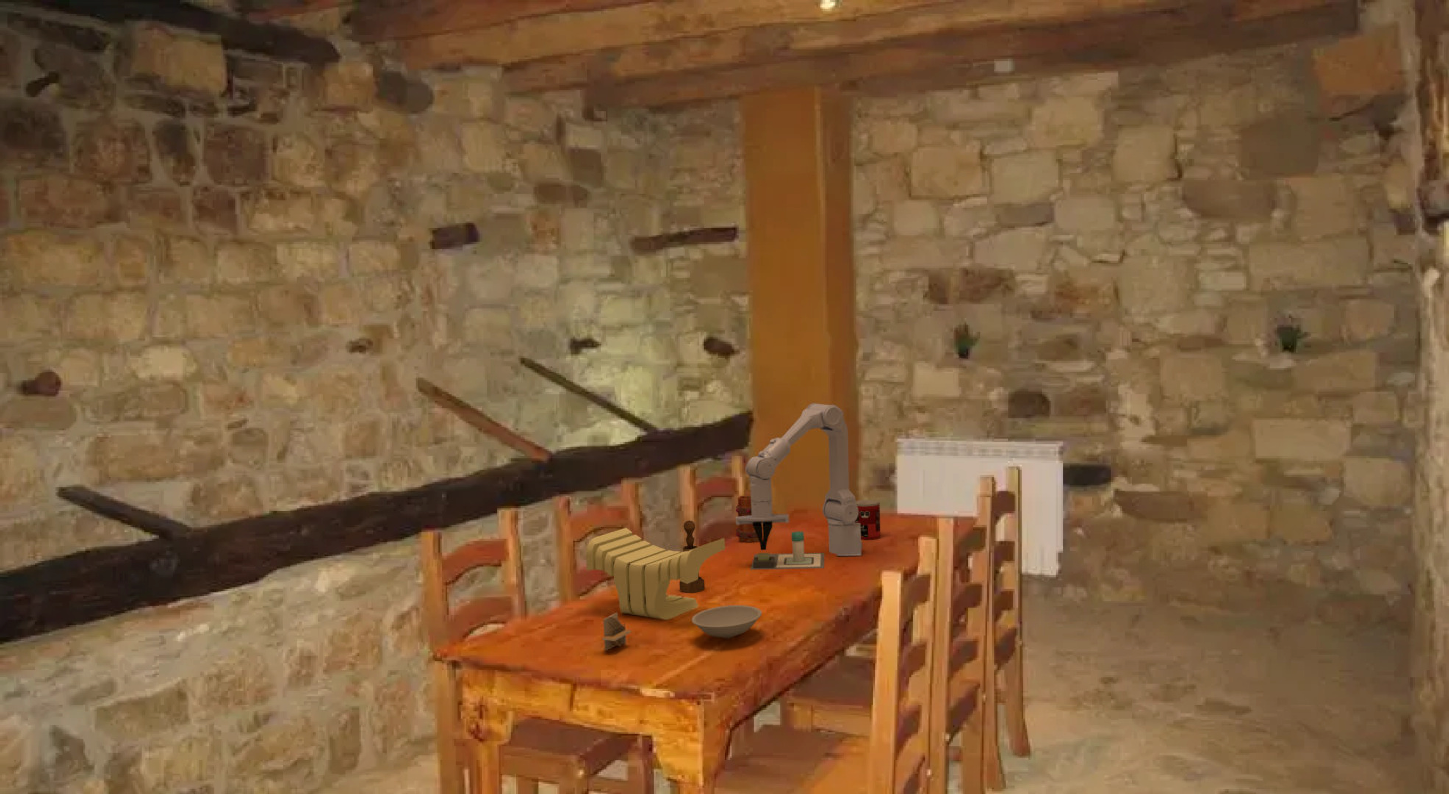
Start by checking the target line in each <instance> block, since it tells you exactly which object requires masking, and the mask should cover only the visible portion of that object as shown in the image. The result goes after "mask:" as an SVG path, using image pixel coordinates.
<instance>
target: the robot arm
mask: <svg viewBox="0 0 1449 794" xmlns="http://www.w3.org/2000/svg"><path fill="white" fill-rule="evenodd" d="M844 417H845V416H844V410H842V409H841V408H839V407H838V406H837V405H835V404H822V403H817V402H814V403H810V404H808V405H807V407H806V408H805V409H804V410H802V412H801V415H800V416H799V417H798V419H797V420H796V421H795V422H794V423H793V424H792V426H791V427H790V428H789V429H788V430H787V431H786V433H784V435H783V436H781V437H775V438H772V439H771V440H769V444H768V445H766V447H765V448H764V449H763V450H761V451H759V452H758V455H757V456H753V457H751V458H750V459H749V460H748V461H747V464H746V466H745V472H746V474H747V475H748V479H749V483H750V484H749V485H750V490H751V511H752V515H749V516H740V517H738V516H735V525H736V526H739V525H740V524H753V528H754V530H755V532H756V534H757V536H758V539H759V542H758V543H759V546H760V551H766V550H767V544H768V540H769V536H770V534H771V531H772V528H773V523H775V524H776V523H786V524H789V523H790V516H789V514H785V513H783V514H780V513H779V514H777V513H776V514H775V513H773V500H772V499H773V497H772V494H773V493H772V477H773V476H774V475H775V473H776V468H777V467H778V466H779V465H780V463H781V462H782V461H783V460H784V459H785V458H786V457H787V456H788V455H789V454H790V453H791V446H793V445H794V444H795V443H796V442H797V441H799V440H800V439H801V438H802V437H803V436H804V435H806V434H807V432H809V430H813V429H820V430H821V431H822V432H823V433H825V434H826V435H827V436H828V462H829V463H828V466H829V467H828V468H829V469H828V471H829V472H828V473H829V490H828V491H827V492H826V494H825V495H824V503H823V506H822V515H823V516H824V517H825V518H826V522H827V523H828V525H827V526H828V528H827V530H828V551H829V553H831V554H835V555H836V557H853V556H854V557H860V556H862V549H863V542H862V540H861V530H860V523H855V520H856V519H857V517H858V507H857V505H856V501H857V500H856V496H855V495H854V494H853V493H852V491H851V490H850V473H849V467H850V466H849V430H848V425H847V423H846V421H845V418H844ZM762 529H763V530H762Z"/></svg>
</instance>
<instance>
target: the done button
mask: <svg viewBox="0 0 1449 794" xmlns="http://www.w3.org/2000/svg"><path fill="white" fill-rule="evenodd" d="M757 554H758V561H770V556H769V554H770V552H759V553H757Z"/></svg>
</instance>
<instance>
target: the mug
mask: <svg viewBox="0 0 1449 794" xmlns="http://www.w3.org/2000/svg"><path fill="white" fill-rule="evenodd" d="M735 508H736V509H735V512H736V513H737V517H740V516H749V515H752V511H751V489H745V490H744V491H743V495H739V497H737V505H736V507H735ZM735 531H736V533H735V536H737V537H738V540H739V541H738V542H740V543H741V544H743V543H747V544H748V543H760V542H759V539H758V536H757V534H756V532H755V530H754V528H753V524H740V525H738V528H736V529H735ZM762 531H763V528H762Z"/></svg>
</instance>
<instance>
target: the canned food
mask: <svg viewBox="0 0 1449 794" xmlns="http://www.w3.org/2000/svg"><path fill="white" fill-rule="evenodd" d="M855 501H856V505H857V507H858V517H857V519H856V520H855V523H860V530H861V541H862V540H863V541H869V540H870V541H871V540H877V539H879V538H881V510H880V509H881V506H880V501H879V500H877V499H859V500H855Z"/></svg>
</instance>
